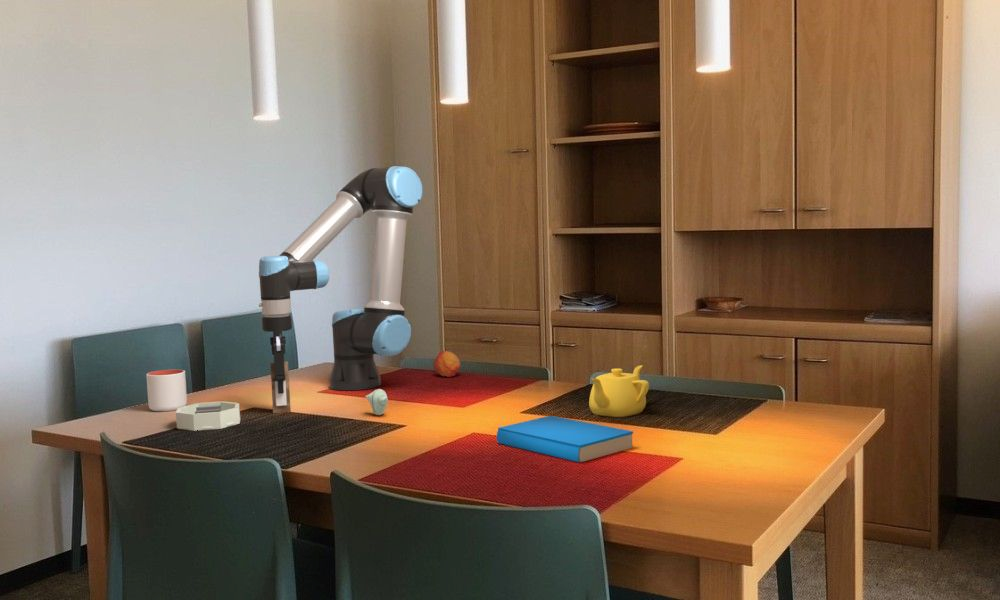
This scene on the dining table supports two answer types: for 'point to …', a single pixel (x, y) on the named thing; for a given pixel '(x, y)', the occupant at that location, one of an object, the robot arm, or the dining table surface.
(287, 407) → the brown tall block
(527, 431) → the book
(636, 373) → the teapot
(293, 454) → the dining table surface
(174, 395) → the cup
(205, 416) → the octagonal tray
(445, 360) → the fruit
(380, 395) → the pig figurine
